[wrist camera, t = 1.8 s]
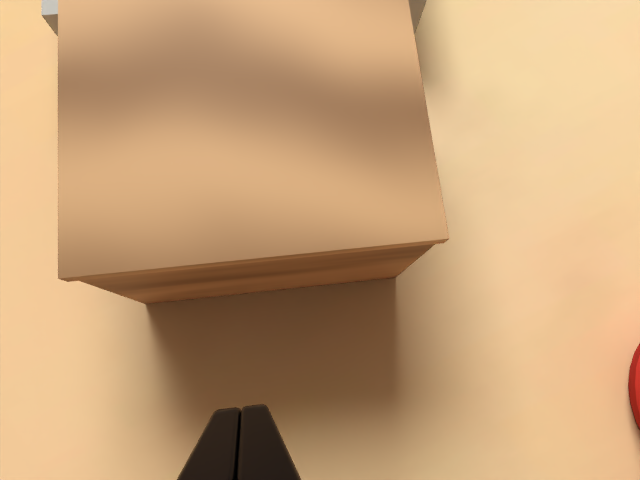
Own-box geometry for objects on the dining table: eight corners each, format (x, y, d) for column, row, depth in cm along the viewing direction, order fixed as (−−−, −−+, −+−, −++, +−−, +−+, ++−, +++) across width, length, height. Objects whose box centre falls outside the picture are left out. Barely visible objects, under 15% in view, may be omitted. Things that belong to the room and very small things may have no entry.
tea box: (397, 279, 23) (449, 238, 15) (144, 306, 22) (58, 278, 14) (367, 75, 25) (398, -55, 17) (136, 94, 25) (58, -33, 17)
